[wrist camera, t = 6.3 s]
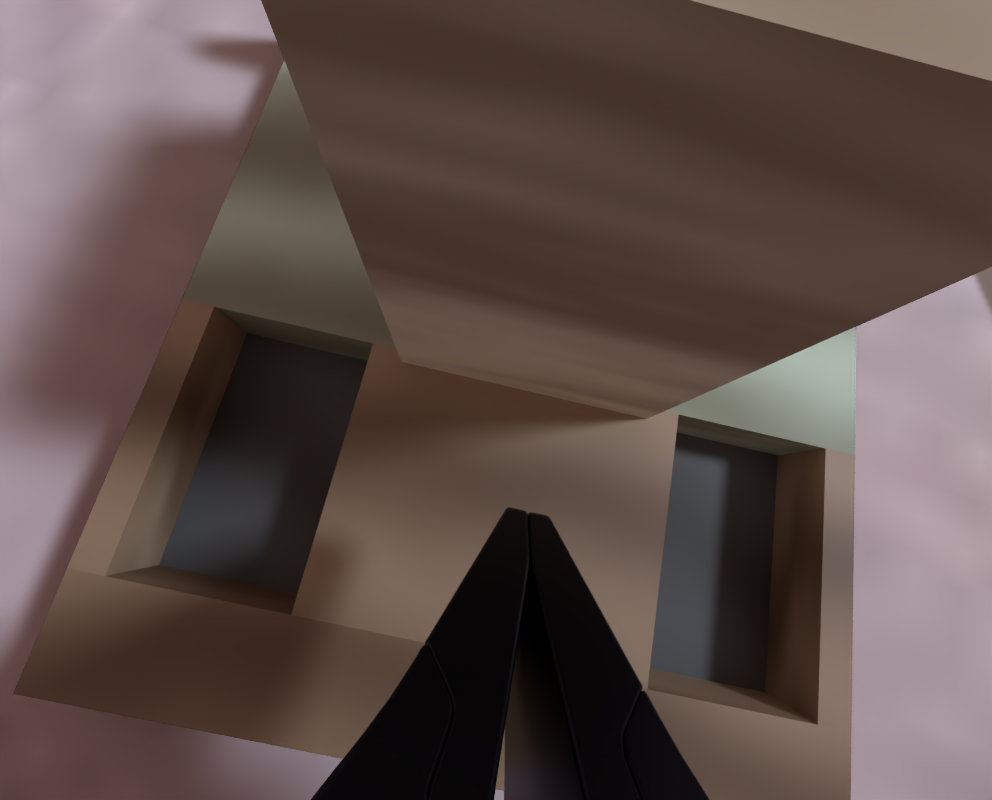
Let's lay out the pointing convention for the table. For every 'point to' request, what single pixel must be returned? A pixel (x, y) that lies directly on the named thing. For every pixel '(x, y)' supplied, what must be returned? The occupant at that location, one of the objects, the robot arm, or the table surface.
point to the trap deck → (444, 515)
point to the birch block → (646, 177)
